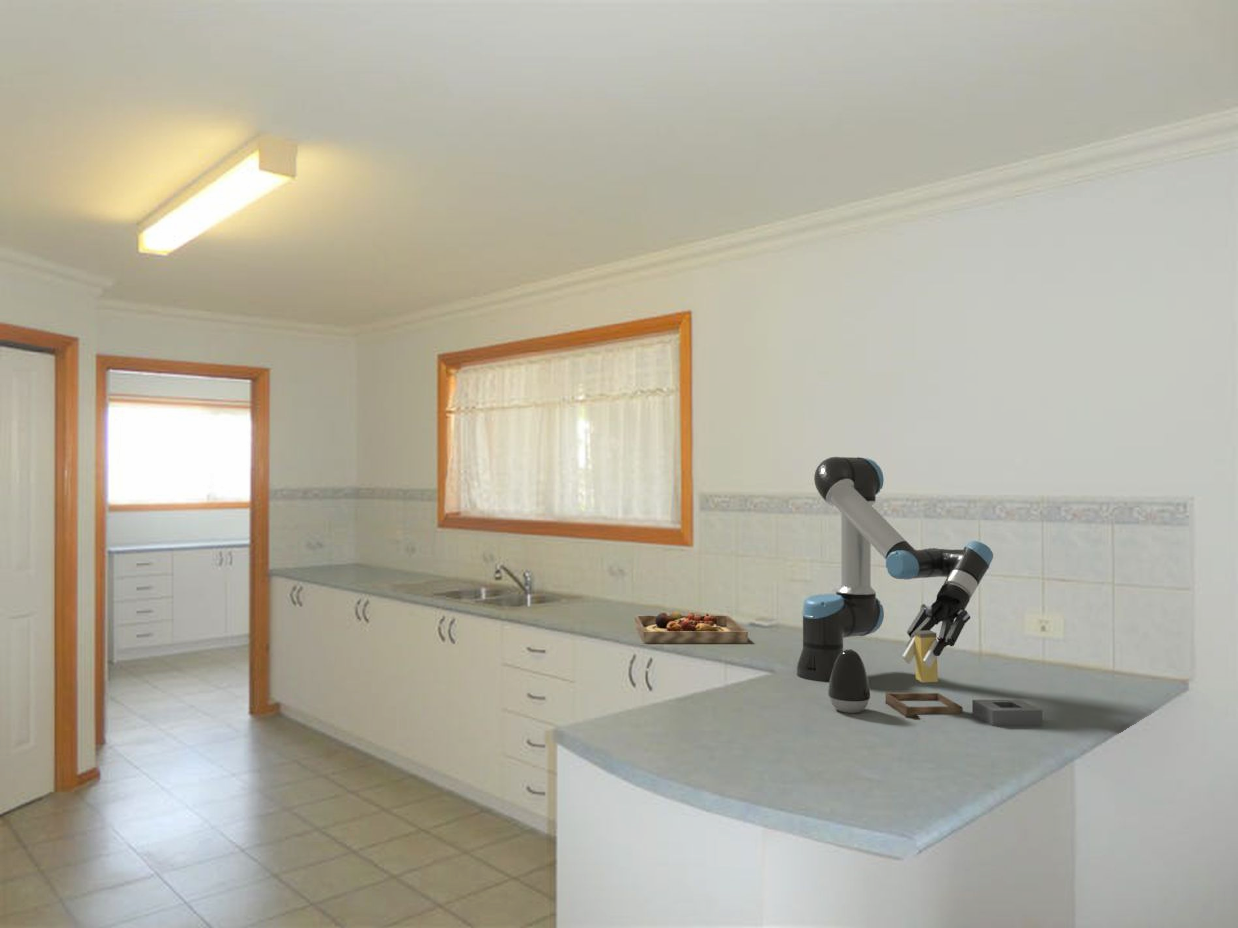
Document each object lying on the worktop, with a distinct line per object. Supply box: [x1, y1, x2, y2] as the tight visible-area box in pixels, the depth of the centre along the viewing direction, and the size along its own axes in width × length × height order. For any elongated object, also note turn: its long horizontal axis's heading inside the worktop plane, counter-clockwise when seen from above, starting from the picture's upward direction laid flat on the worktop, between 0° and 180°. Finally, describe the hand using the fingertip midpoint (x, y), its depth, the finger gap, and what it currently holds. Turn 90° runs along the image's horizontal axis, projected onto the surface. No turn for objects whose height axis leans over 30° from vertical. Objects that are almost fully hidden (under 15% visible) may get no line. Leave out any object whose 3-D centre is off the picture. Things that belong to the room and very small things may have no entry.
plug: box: [914, 630, 939, 683], centre depth 221 cm, size 4×4×12 cm
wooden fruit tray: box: [634, 614, 749, 644], centre depth 327 cm, size 37×37×4 cm
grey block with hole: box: [971, 699, 1043, 727], centre depth 209 cm, size 12×10×4 cm
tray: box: [885, 692, 964, 718], centre depth 221 cm, size 14×14×2 cm
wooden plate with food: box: [645, 610, 731, 631], centre depth 327 cm, size 32×32×8 cm
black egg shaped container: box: [827, 649, 871, 714], centre depth 220 cm, size 10×10×15 cm
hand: (916, 661), depth 219 cm, fingers closed on plug, 5 cm apart
